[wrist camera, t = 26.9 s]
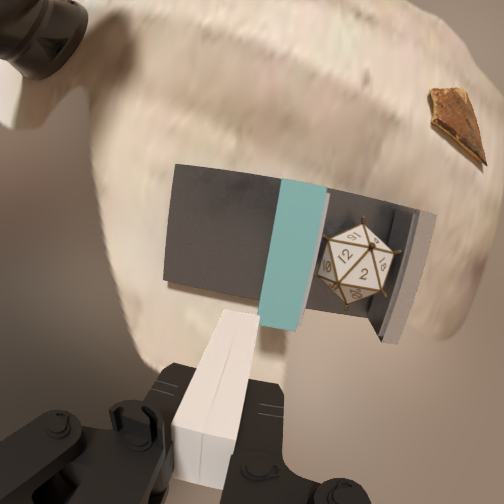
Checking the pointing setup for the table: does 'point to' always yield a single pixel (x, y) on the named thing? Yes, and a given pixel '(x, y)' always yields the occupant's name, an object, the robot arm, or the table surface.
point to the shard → (457, 119)
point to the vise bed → (259, 238)
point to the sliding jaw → (292, 253)
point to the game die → (355, 264)
